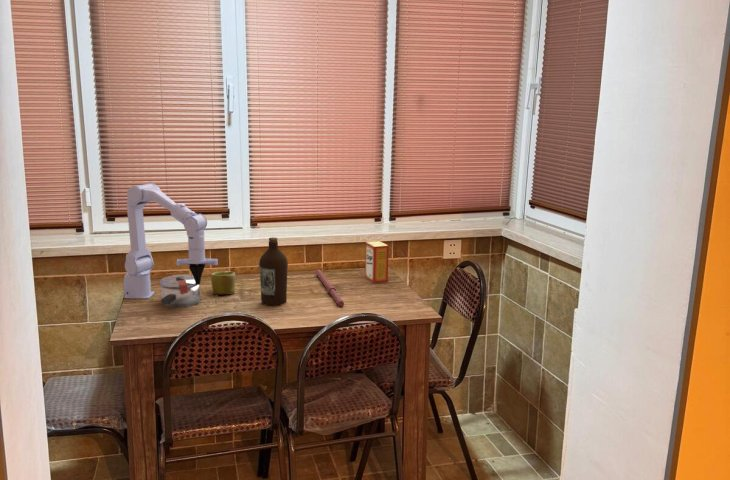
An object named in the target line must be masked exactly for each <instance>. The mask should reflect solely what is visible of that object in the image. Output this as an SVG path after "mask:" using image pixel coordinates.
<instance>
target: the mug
mask: <svg viewBox="0 0 730 480" xmlns="http://www.w3.org/2000/svg"><path fill="white" fill-rule="evenodd" d="M210 279H211V281H210V283H211V289H212V293H213V294H214V295H219V296H221V295H233V294H234V293H235V292H236V273H235V272H234V271H230V270H226V271H215V272H213V273H211V275H210Z"/></svg>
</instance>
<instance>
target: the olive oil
mask: <svg viewBox="0 0 730 480" xmlns="http://www.w3.org/2000/svg"><path fill="white" fill-rule="evenodd" d="M278 245H279V242H278V237H274V236H273V237H269V238H268V249H266V251H264V253H263V254H262V255H261V257H260V258H259V265H258V268H259V279H260V280H259V281H260V295H261V299H260V300H261V303H262V305H265V306H267V307H268V306H269V307H278V306H282V305H285V304H286V303H287V302H288V301H287V299H288V298H287V297H288V296H287V294H288V293H287V291H288V265H289V263H288V259H287V256H286V254H284V253H283V252H282V250H281V249H279V247H278Z"/></svg>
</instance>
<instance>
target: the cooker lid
mask: <svg viewBox="0 0 730 480" xmlns="http://www.w3.org/2000/svg"><path fill="white" fill-rule="evenodd" d="M159 284H160V286H163V287H166V288H179V290H180V293H181V294H182V293H188V291H187V288H188V287H193V286H196V283H195V279H194V276H193V274H187V273H184V274H183V273H182V274H173V275H167V276H164V277H162V278H161V279H160V280H159Z"/></svg>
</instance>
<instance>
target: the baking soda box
mask: <svg viewBox="0 0 730 480" xmlns="http://www.w3.org/2000/svg"><path fill="white" fill-rule="evenodd" d="M364 255H365V257H364V258H365V261H364V262H365V263H364V264H365V265H364V266H365V267H364V278H366V279H368V280H369V281H370V282H372V283H374V284H375V283H384V282H388V279H389V278H388V277H389V245H388V244H386V243H384V242H382V241H381V240H376V241H365V254H364Z"/></svg>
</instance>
